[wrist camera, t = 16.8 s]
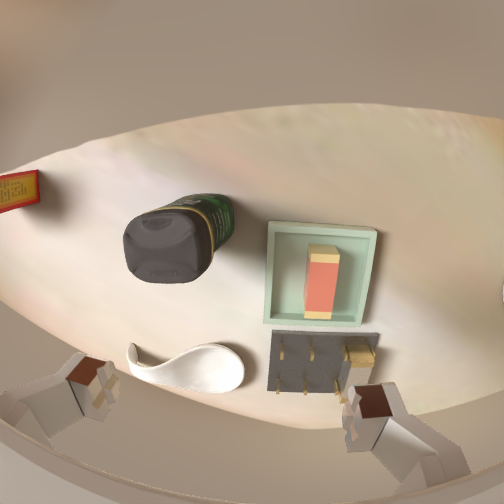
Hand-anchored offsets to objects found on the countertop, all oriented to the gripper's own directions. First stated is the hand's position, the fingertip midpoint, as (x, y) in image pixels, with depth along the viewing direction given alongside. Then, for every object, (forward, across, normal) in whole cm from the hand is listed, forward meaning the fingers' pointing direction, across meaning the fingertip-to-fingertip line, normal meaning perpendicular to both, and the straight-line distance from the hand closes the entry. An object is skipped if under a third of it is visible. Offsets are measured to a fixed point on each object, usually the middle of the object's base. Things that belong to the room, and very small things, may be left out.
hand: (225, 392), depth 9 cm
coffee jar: (+38, +10, +2) cm, 39 cm away
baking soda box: (+38, +50, -4) cm, 63 cm away
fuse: (+36, -8, +10) cm, 39 cm away
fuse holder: (+37, -11, +28) cm, 48 cm away
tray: (+37, -8, +10) cm, 39 cm away
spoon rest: (+38, +14, +29) cm, 50 cm away
